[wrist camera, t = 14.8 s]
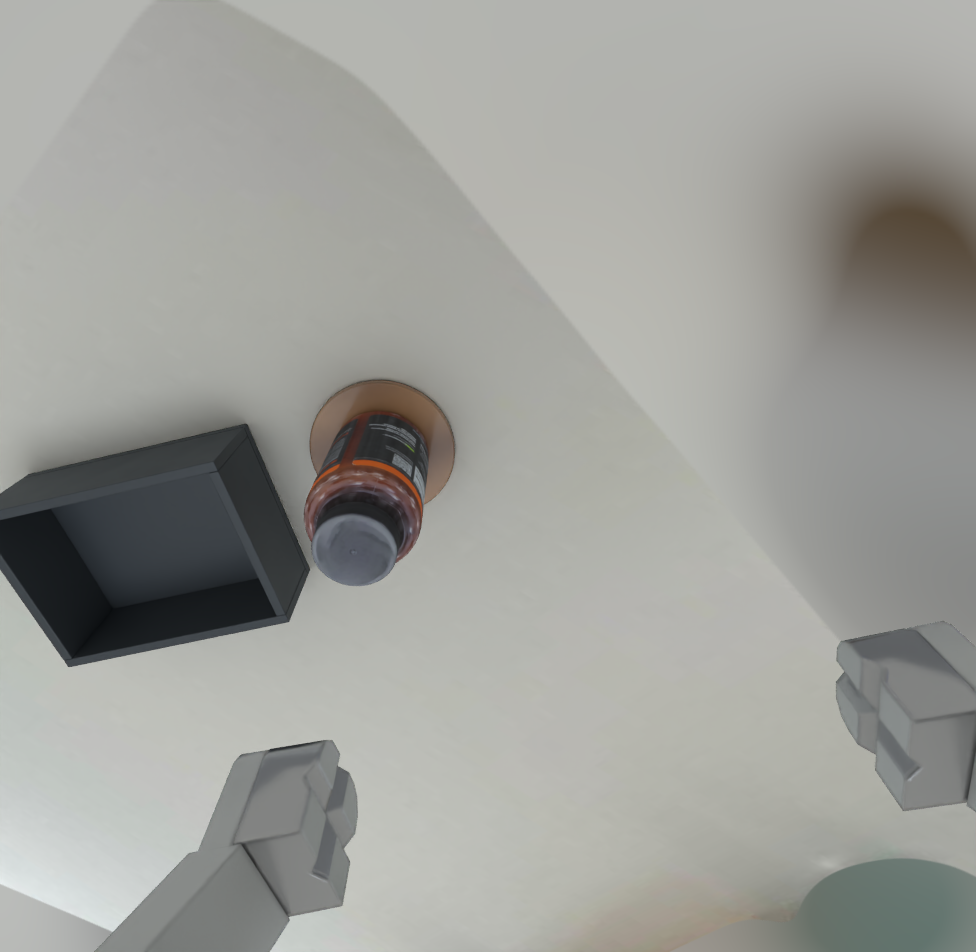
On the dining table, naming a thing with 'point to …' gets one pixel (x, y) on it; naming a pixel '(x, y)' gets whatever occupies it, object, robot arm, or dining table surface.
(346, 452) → the supplement bottle
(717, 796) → the dining table surface
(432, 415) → the coaster
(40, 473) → the bin
